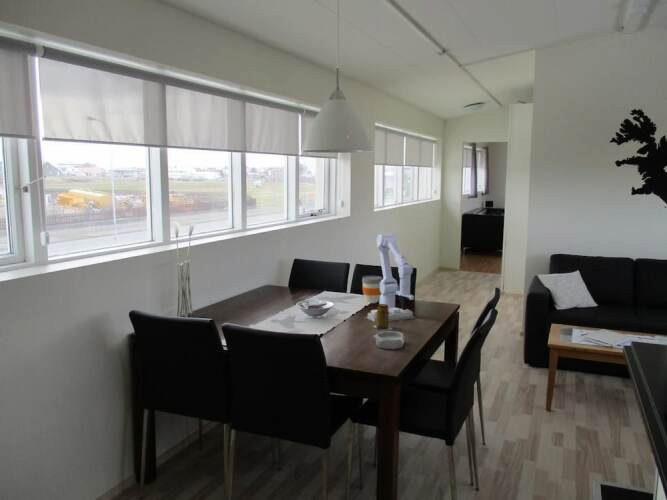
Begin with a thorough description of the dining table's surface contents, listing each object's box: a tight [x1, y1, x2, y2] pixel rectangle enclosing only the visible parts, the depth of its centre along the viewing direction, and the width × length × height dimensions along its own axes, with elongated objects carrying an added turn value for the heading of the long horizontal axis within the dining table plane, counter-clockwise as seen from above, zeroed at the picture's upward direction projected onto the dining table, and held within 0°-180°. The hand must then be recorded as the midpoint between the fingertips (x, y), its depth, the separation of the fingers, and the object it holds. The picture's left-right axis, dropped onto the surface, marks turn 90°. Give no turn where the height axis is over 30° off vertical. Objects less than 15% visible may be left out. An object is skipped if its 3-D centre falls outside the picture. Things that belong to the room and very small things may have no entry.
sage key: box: [370, 309, 378, 316], centre depth 296 cm, size 4×4×3 cm
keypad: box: [364, 310, 417, 324], centre depth 300 cm, size 12×26×3 cm, turn 117°
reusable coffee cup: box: [361, 275, 383, 304], centre depth 337 cm, size 13×13×15 cm
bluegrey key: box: [390, 307, 402, 314], centre depth 301 cm, size 4×4×3 cm
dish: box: [372, 330, 405, 350], centre depth 253 cm, size 14×14×5 cm
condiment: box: [372, 303, 393, 331], centre depth 280 cm, size 7×8×12 cm
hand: (404, 309), depth 304 cm, fingers closed
